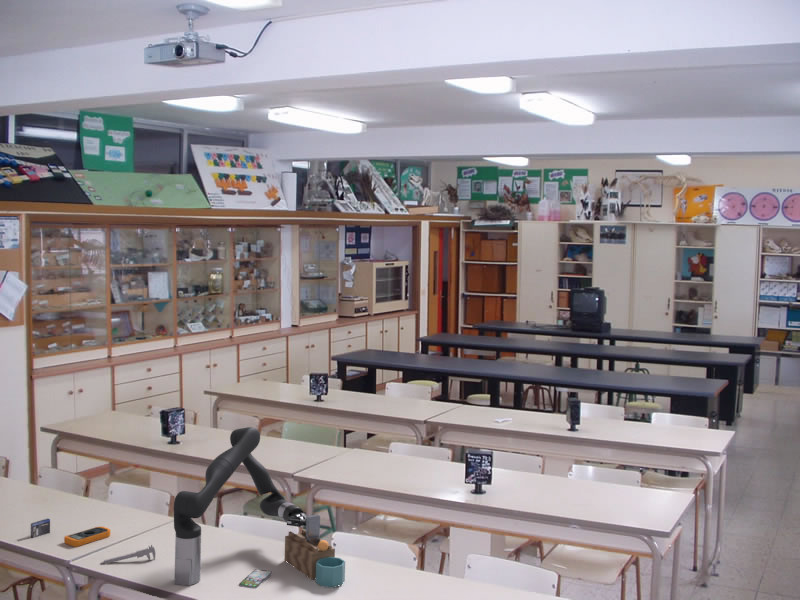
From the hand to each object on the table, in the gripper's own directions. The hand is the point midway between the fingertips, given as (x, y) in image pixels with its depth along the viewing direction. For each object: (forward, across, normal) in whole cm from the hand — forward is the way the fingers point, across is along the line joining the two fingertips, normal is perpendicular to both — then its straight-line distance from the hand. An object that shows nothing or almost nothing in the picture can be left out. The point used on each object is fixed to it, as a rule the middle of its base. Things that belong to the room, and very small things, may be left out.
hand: (311, 525), depth 312 cm
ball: (+9, 0, +5) cm, 11 cm away
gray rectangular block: (+2, 0, +7) cm, 7 cm away
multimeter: (-75, -64, +18) cm, 101 cm away
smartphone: (-1, -23, +18) cm, 29 cm away
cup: (+15, 0, +17) cm, 23 cm away
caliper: (-43, -58, +18) cm, 74 cm away
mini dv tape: (-91, -80, +17) cm, 122 cm away
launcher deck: (-1, 0, +17) cm, 17 cm away
